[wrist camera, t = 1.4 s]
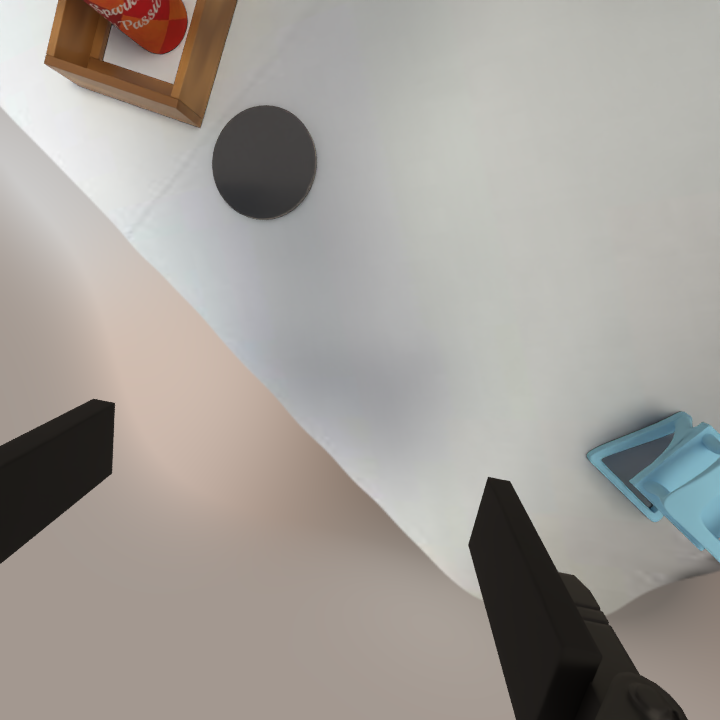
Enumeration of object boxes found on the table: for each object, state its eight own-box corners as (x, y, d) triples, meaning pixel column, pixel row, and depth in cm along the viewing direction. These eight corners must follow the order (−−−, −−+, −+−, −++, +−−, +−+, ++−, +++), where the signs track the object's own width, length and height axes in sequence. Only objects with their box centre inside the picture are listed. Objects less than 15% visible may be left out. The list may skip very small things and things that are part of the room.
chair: (730, 456, 36) (872, 524, 24) (649, 519, 38) (745, 611, 26) (661, 390, 37) (768, 426, 25) (584, 455, 38) (649, 518, 26)
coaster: (233, 93, 40) (230, 91, 40) (332, 126, 39) (330, 124, 39) (201, 200, 42) (199, 198, 41) (295, 234, 41) (294, 233, 40)
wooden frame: (121, -86, 40) (87, -129, 36) (251, -49, 39) (230, -90, 35) (79, 86, 43) (43, 63, 39) (200, 128, 41) (175, 108, 37)
